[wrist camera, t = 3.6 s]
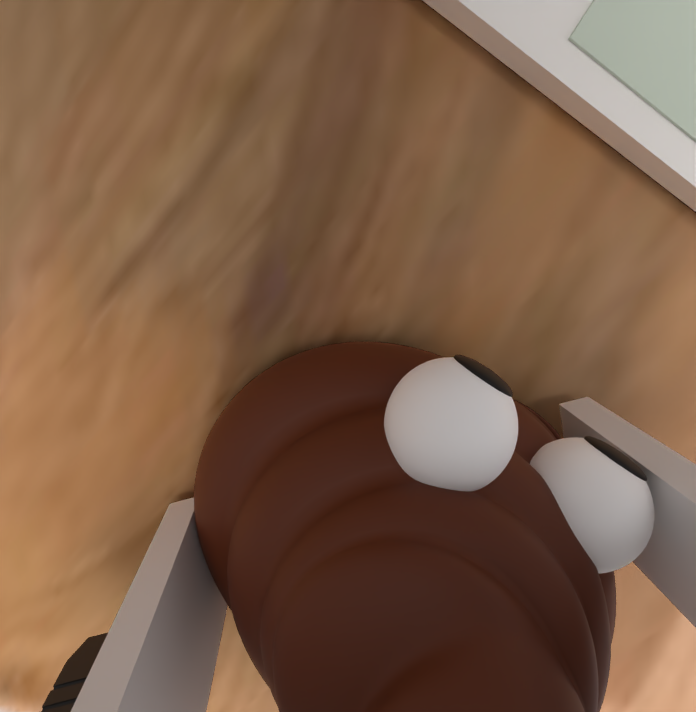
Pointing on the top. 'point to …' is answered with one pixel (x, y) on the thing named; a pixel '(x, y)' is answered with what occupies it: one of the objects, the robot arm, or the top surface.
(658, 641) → the top surface
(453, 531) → the poop emoji
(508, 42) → the picture board
